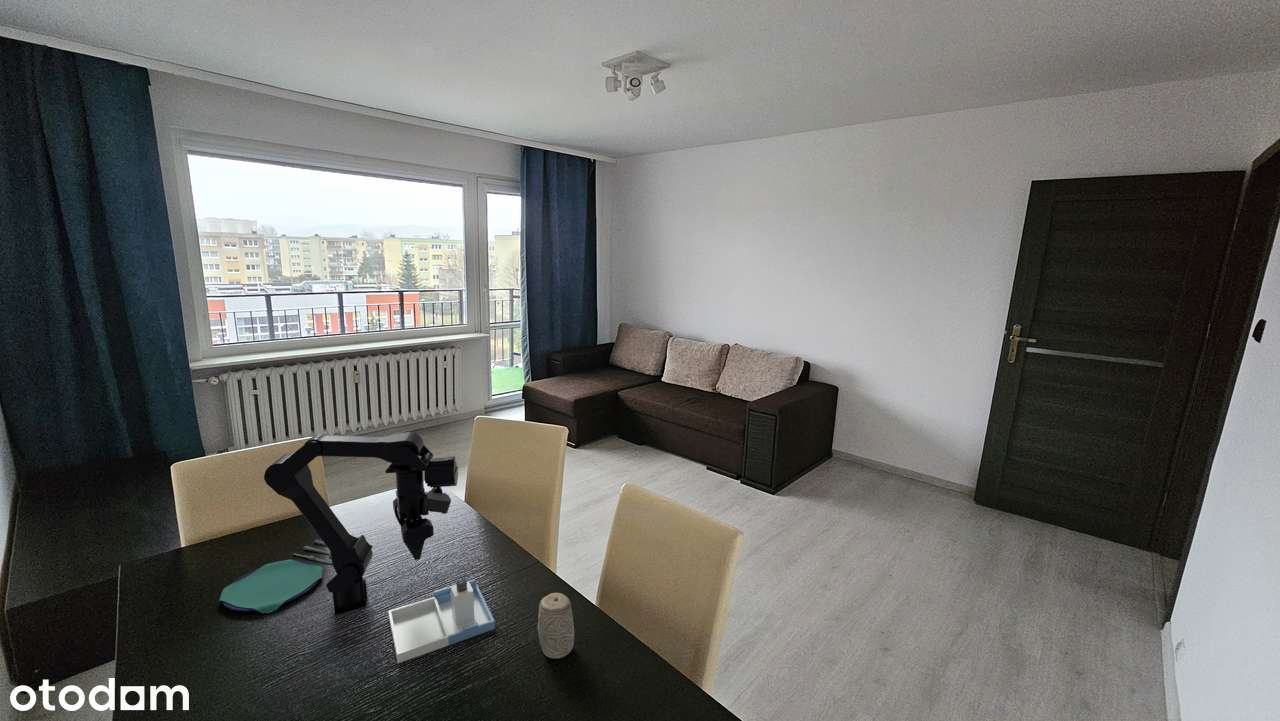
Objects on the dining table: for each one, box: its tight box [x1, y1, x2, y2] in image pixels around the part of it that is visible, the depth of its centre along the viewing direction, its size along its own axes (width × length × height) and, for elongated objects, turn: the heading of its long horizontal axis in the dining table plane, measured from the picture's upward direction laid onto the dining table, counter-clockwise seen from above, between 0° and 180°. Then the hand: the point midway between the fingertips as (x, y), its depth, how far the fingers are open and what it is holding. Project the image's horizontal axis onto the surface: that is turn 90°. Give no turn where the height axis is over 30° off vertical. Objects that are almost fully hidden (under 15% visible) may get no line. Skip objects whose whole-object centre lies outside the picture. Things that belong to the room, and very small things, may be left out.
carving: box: [537, 592, 575, 659], centre depth 105 cm, size 6×8×12 cm
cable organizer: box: [387, 578, 496, 664], centre depth 113 cm, size 20×16×4 cm
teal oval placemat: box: [218, 539, 333, 614], centre depth 129 cm, size 20×30×2 cm, turn 165°
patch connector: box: [451, 578, 474, 625], centre depth 115 cm, size 4×4×9 cm
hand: (414, 549), depth 120 cm, fingers open, 9 cm apart
